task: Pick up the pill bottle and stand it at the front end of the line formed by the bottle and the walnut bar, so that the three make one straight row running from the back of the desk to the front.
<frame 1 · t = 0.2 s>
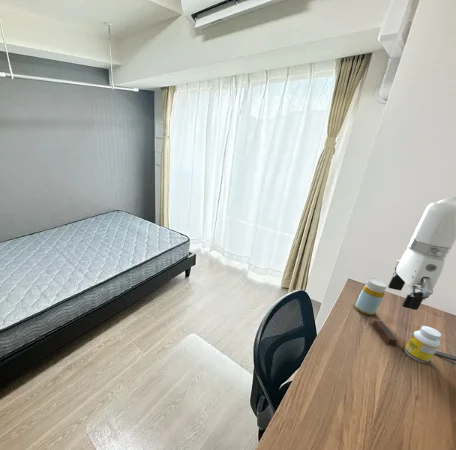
hand: (401, 297, 73), 27 cm above the table, tool pointing down, fingers open, 9 cm apart
pill bottle: (415, 355, 87), on the table
walnut bar: (383, 334, 95), on the table
bottle: (364, 310, 108), on the table
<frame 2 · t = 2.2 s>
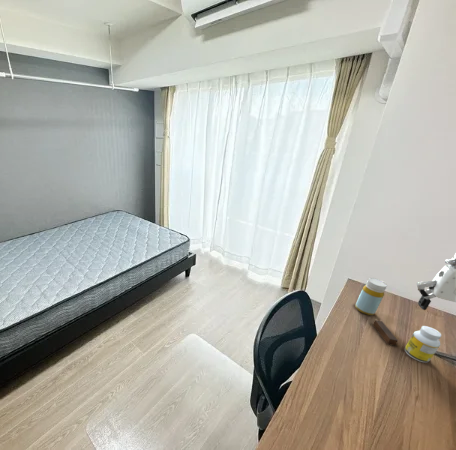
hand: (440, 312, 79), 20 cm above the table, tool pointing down, fingers open, 9 cm apart
nothing on the table moved.
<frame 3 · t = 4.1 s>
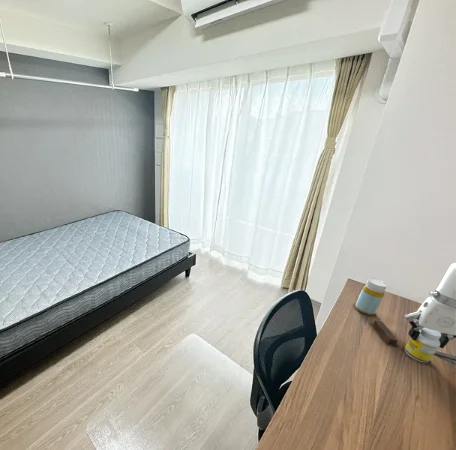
hand: (425, 340, 84), 7 cm above the table, tool pointing down, fingers closed on pill bottle, 6 cm apart
pill bottle: (415, 355, 87), on the table, touching gripper
everything else where it was.
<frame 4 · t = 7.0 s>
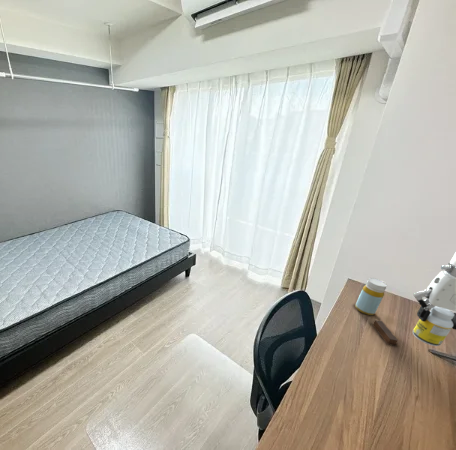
hand: (436, 321, 75), 19 cm above the table, tool pointing down, fingers closed on pill bottle, 6 cm apart
pill bottle: (425, 339, 78), point 12 cm above the table, touching gripper
everything else where it was.
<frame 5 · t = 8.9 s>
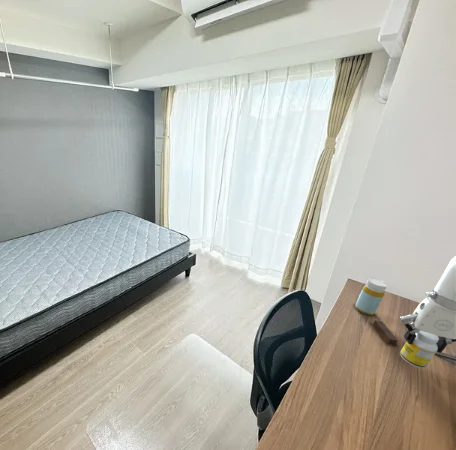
hand: (421, 344, 79), 10 cm above the table, tool pointing down, fingers closed on pill bottle, 6 cm apart
pill bottle: (412, 360, 82), point 3 cm above the table, touching gripper
everything else where it was.
when the fingers open (7 cm above the table, at t = 10.2 s): pill bottle stays where it is, on the table.
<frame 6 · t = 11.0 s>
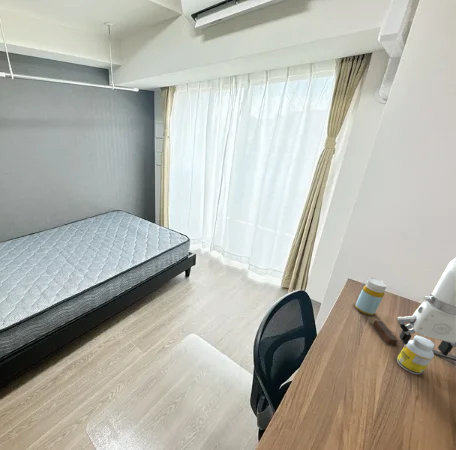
hand: (421, 346, 79), 9 cm above the table, tool pointing down, fingers open, 9 cm apart
pill bottle: (408, 366, 83), on the table
everything else where it was.
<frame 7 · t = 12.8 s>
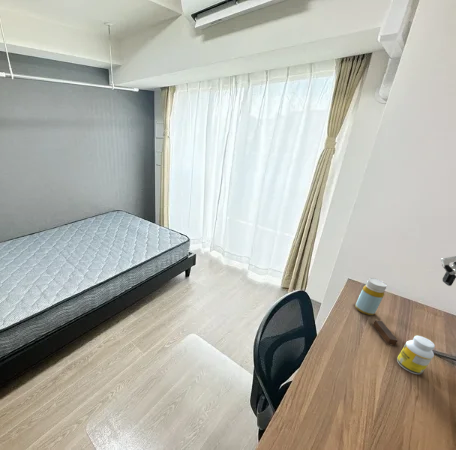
nothing on the table moved.
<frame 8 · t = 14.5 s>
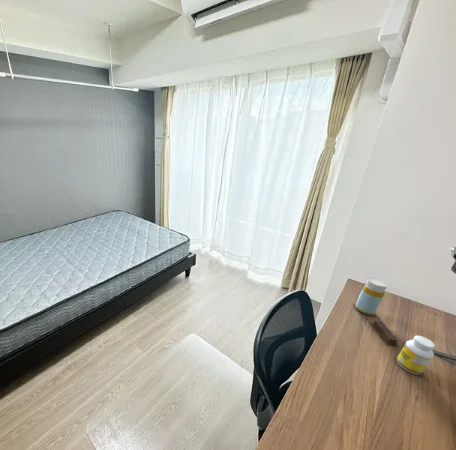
nothing on the table moved.
at the end: pill bottle 0.1 cm from the target spot on the table beside the bottle, on the table; pill bottle tilted 0°; bottle moved 0.2 cm from its start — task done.
